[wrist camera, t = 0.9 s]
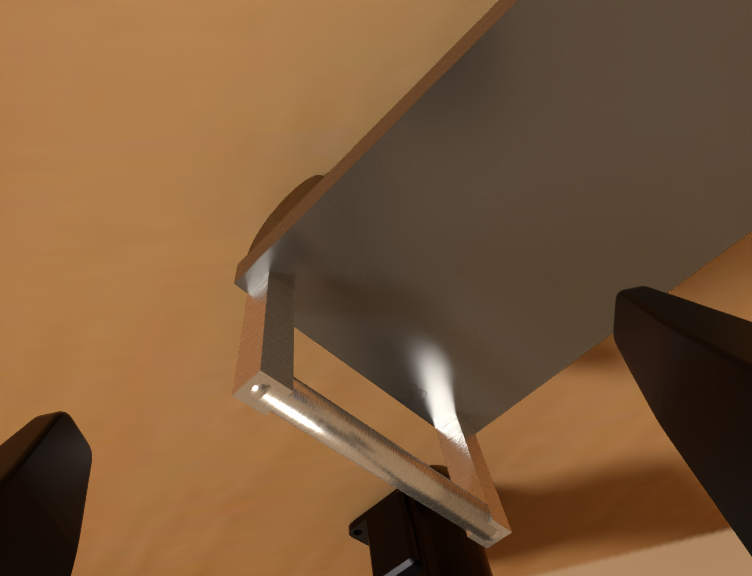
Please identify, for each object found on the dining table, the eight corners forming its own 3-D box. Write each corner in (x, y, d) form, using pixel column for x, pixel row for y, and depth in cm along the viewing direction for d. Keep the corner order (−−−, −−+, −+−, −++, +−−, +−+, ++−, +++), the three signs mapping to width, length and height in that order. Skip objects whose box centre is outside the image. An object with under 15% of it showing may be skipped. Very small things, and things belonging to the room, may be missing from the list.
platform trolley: (749, 105, 21) (1048, 203, 13) (423, 367, 26) (485, 565, 18) (607, -162, 16) (943, -291, 8) (238, 223, 21) (200, 400, 13)
